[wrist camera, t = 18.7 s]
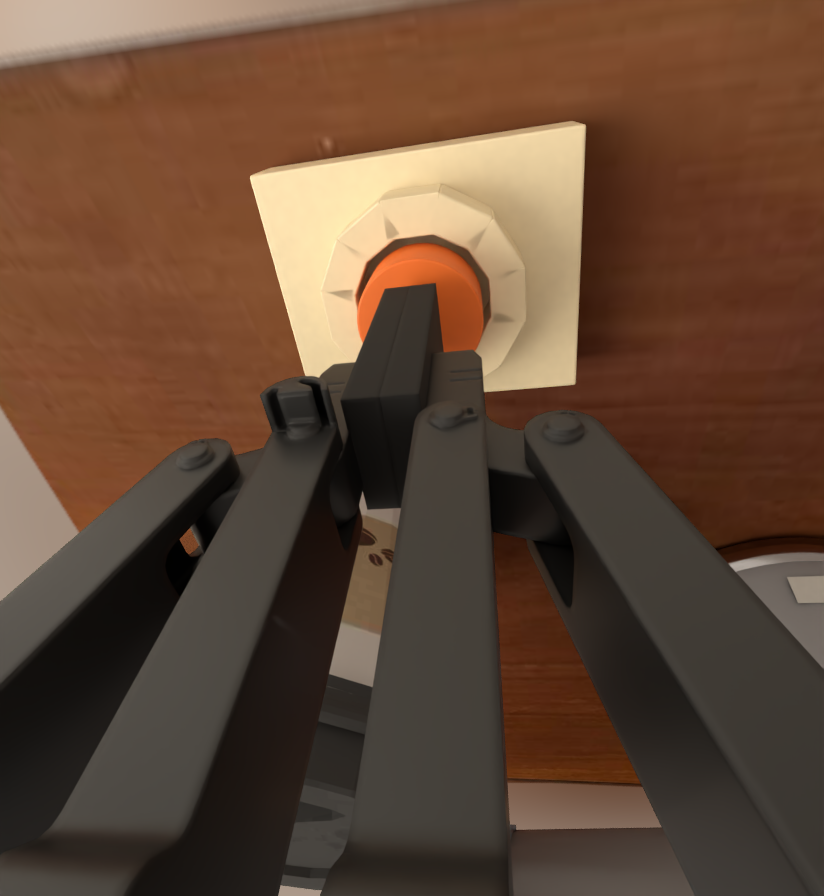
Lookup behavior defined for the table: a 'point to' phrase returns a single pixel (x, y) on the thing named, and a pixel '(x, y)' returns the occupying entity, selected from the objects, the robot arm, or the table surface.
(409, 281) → the button
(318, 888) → the coffee cup
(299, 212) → the button box
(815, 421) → the table surface
